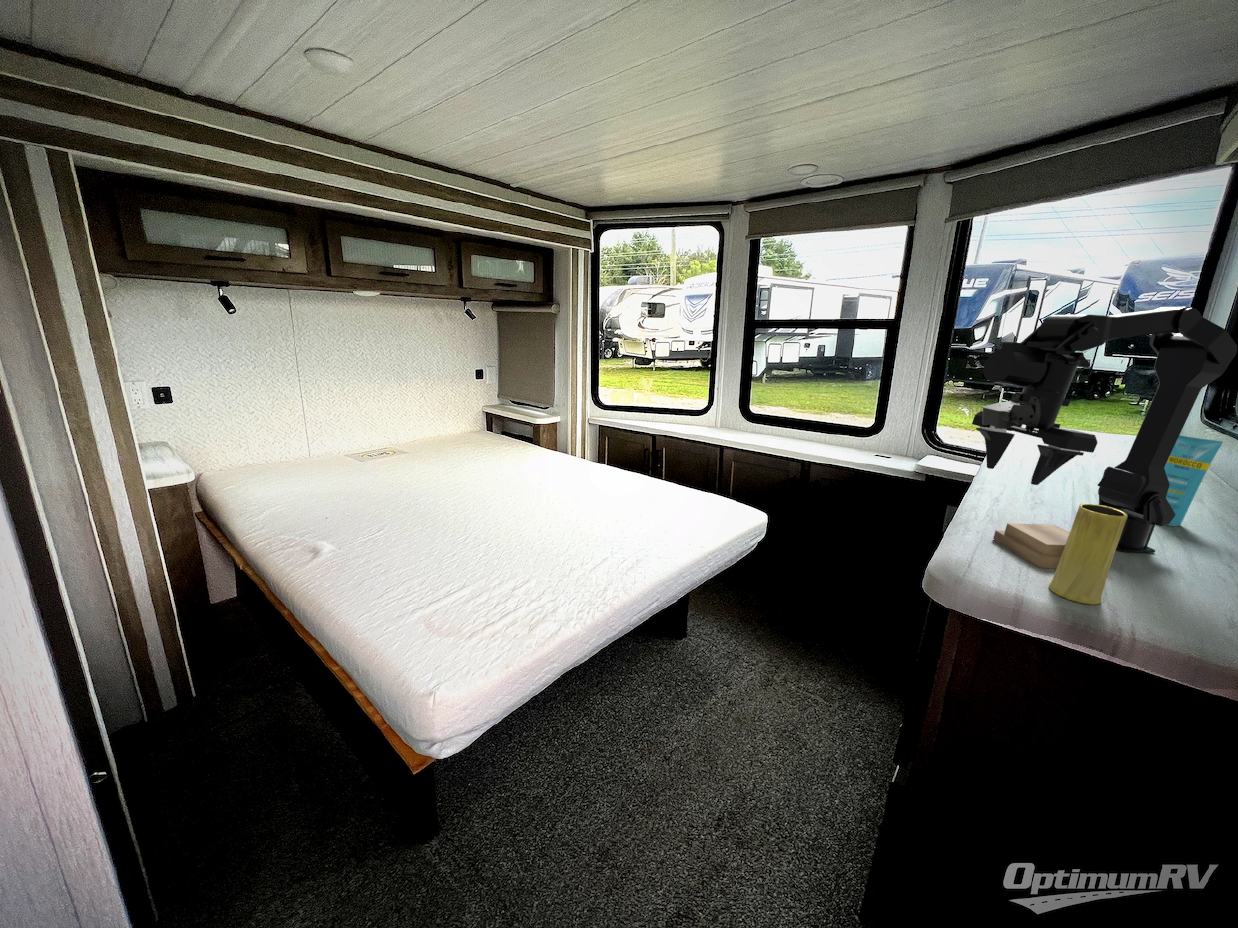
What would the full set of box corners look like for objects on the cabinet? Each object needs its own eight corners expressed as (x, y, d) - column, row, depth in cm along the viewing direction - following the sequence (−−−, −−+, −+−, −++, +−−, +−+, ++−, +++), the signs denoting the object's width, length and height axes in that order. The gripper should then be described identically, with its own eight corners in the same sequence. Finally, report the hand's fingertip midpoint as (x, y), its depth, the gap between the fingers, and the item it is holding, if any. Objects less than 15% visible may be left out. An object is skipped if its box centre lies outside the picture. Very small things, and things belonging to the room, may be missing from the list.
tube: (1136, 517, 108) (1166, 433, 102) (1147, 514, 109) (1177, 432, 104) (1183, 530, 101) (1218, 442, 95) (1193, 527, 103) (1229, 440, 97)
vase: (1038, 584, 78) (1064, 502, 73) (1072, 583, 78) (1100, 502, 74) (1075, 605, 72) (1106, 518, 68) (1112, 604, 72) (1145, 517, 68)
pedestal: (1049, 541, 94) (1055, 522, 92) (1102, 569, 83) (1110, 548, 82) (992, 539, 94) (998, 521, 92) (1039, 567, 83) (1045, 546, 82)
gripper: (960, 377, 90) (933, 456, 94) (1055, 392, 72) (1016, 488, 77) (1013, 385, 91) (984, 463, 96) (1118, 401, 74) (1077, 496, 78)
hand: (1010, 476), depth 86 cm, fingers open, 9 cm apart
